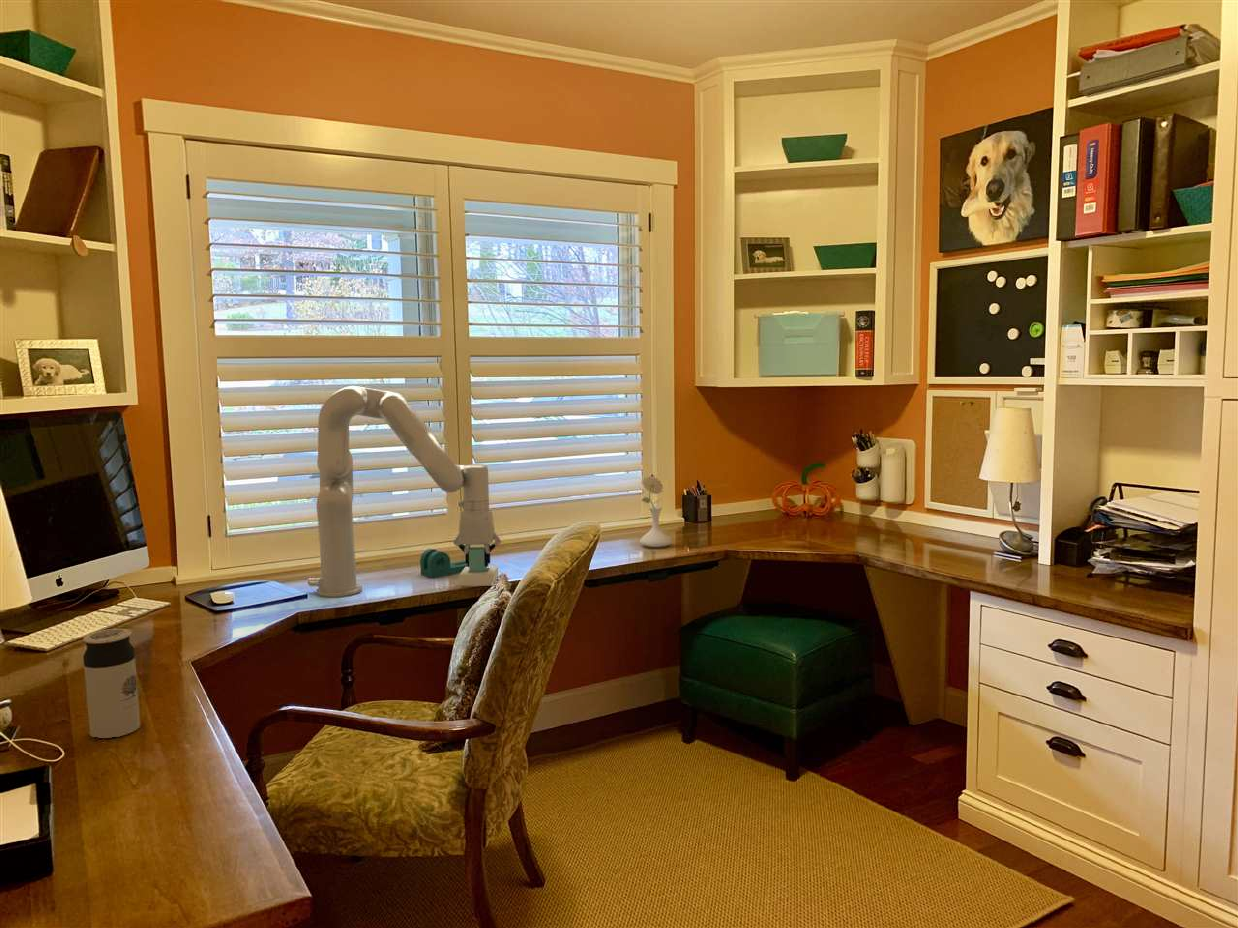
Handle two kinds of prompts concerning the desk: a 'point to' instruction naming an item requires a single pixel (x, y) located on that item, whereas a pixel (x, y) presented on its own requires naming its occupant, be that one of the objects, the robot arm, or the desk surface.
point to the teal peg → (477, 559)
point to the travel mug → (111, 683)
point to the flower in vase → (654, 516)
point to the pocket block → (478, 577)
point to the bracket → (439, 564)
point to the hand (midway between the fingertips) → (478, 565)
